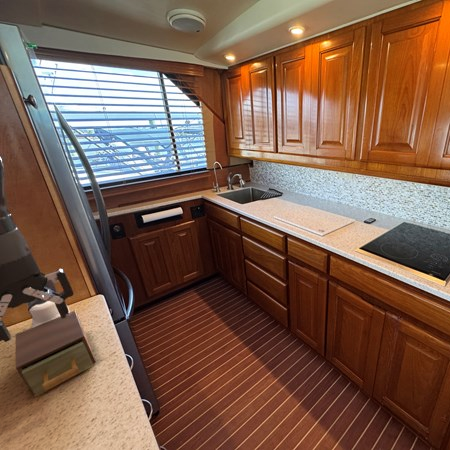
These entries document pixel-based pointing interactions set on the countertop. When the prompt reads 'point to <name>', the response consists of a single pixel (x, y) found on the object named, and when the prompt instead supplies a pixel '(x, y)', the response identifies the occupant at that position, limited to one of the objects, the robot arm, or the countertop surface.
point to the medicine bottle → (43, 312)
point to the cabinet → (49, 341)
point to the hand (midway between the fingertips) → (37, 327)
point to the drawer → (57, 367)
